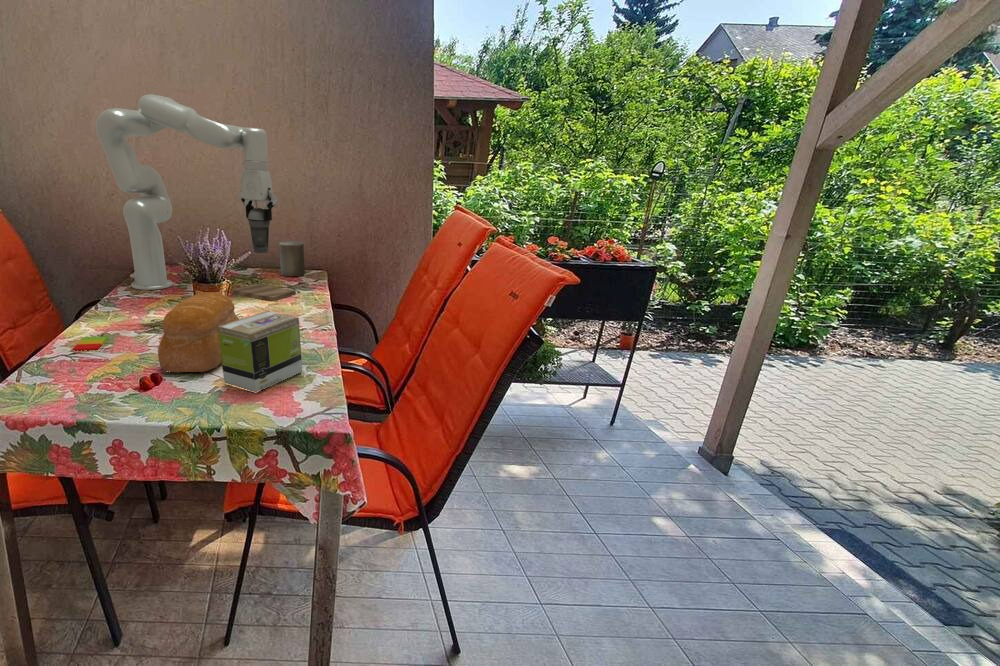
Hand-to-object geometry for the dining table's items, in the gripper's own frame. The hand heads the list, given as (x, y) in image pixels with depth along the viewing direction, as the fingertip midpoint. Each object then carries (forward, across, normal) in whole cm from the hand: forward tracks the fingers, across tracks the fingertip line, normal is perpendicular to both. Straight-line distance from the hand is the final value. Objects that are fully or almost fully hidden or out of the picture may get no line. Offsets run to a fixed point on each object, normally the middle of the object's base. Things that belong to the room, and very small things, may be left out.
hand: (259, 218), depth 186 cm
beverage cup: (+12, 0, 0) cm, 12 cm away
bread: (+28, +30, -54) cm, 68 cm away
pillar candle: (+28, -13, +31) cm, 44 cm away
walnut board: (+28, 0, 0) cm, 28 cm away
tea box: (+28, +54, -58) cm, 84 cm away
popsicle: (+28, +2, -62) cm, 68 cm away
